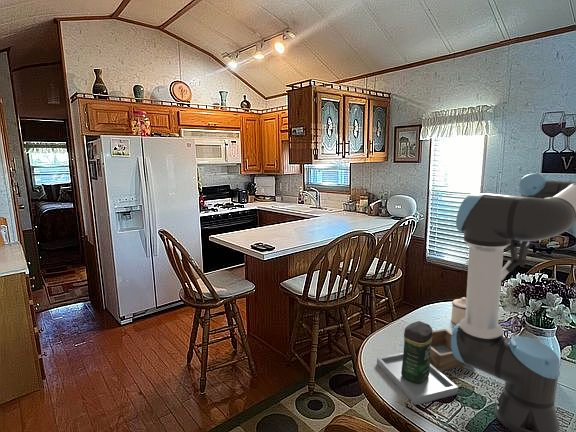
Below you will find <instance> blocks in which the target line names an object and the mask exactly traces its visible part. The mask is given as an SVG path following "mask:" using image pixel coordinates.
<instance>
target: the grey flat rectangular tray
mask: <svg viewBox="0 0 576 432" xmlns="http://www.w3.org/2000/svg"><path fill="white" fill-rule="evenodd" d="M402 362H403V352H399V353H394V354H390V355H385V356H384V355H383V356H379V357H376V365H377V366H378V367H379V368H380V369H381V370H382V371H383V372H384V374H385V375H387V376H388V378H389V379H390V380H391V381H392V382H393V383H394V384H395V385H396V386H397V388H398V389H399V390H400V391H401V392H402V393H403V394H404V395H405V396H406V397H407V398H408V400H410V401H411V403H412V404H413V405H414V406H416V405H421V404H423V403H428V402H432V401H436V400H437V401H438V400H440V399H443V398H447V397H452V396H455V395H458V394H459V386H458V385H457V384H455V383H454V382H453V381H452V380H450V378H448V377H447V376H446V375H445V374H443V373H442V371H439V370H438V369H436V368H435V367H434V366H433V365H432V364H430V371H429V376H428V378H427V379H426V380H425V381H424V382H422V383H420V384H418V383H412V382H410V381H408V380H406V379H405V378H404V377H403V376H402V374H401V371H402Z"/></svg>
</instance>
